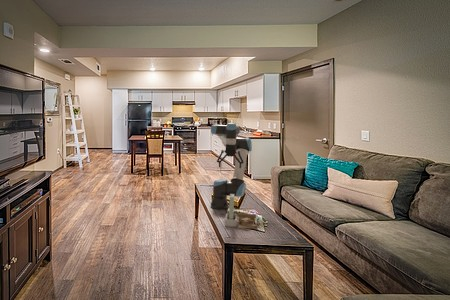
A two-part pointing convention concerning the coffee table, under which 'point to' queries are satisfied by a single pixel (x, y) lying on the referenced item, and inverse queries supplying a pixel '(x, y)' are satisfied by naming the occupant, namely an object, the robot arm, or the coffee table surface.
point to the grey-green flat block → (231, 206)
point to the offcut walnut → (246, 222)
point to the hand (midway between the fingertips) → (229, 172)
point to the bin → (231, 221)
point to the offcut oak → (245, 219)
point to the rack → (242, 216)
